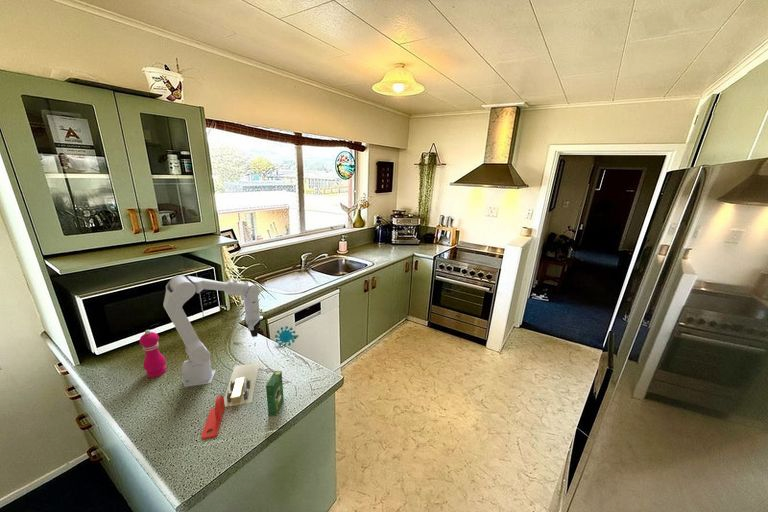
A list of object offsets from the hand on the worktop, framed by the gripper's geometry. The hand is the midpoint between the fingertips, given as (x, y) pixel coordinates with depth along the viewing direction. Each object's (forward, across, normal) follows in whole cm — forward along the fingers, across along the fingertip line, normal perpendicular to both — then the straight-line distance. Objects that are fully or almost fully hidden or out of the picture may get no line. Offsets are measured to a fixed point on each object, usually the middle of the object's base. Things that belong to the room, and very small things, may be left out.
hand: (254, 335), depth 131 cm
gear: (+10, +7, -13) cm, 18 cm away
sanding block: (+10, -24, +3) cm, 26 cm away
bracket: (+10, -36, +9) cm, 39 cm away
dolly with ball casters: (+10, -24, +3) cm, 26 cm away
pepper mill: (+10, -4, +38) cm, 40 cm away
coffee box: (+10, -34, -11) cm, 37 cm away
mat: (+10, -18, +3) cm, 21 cm away
